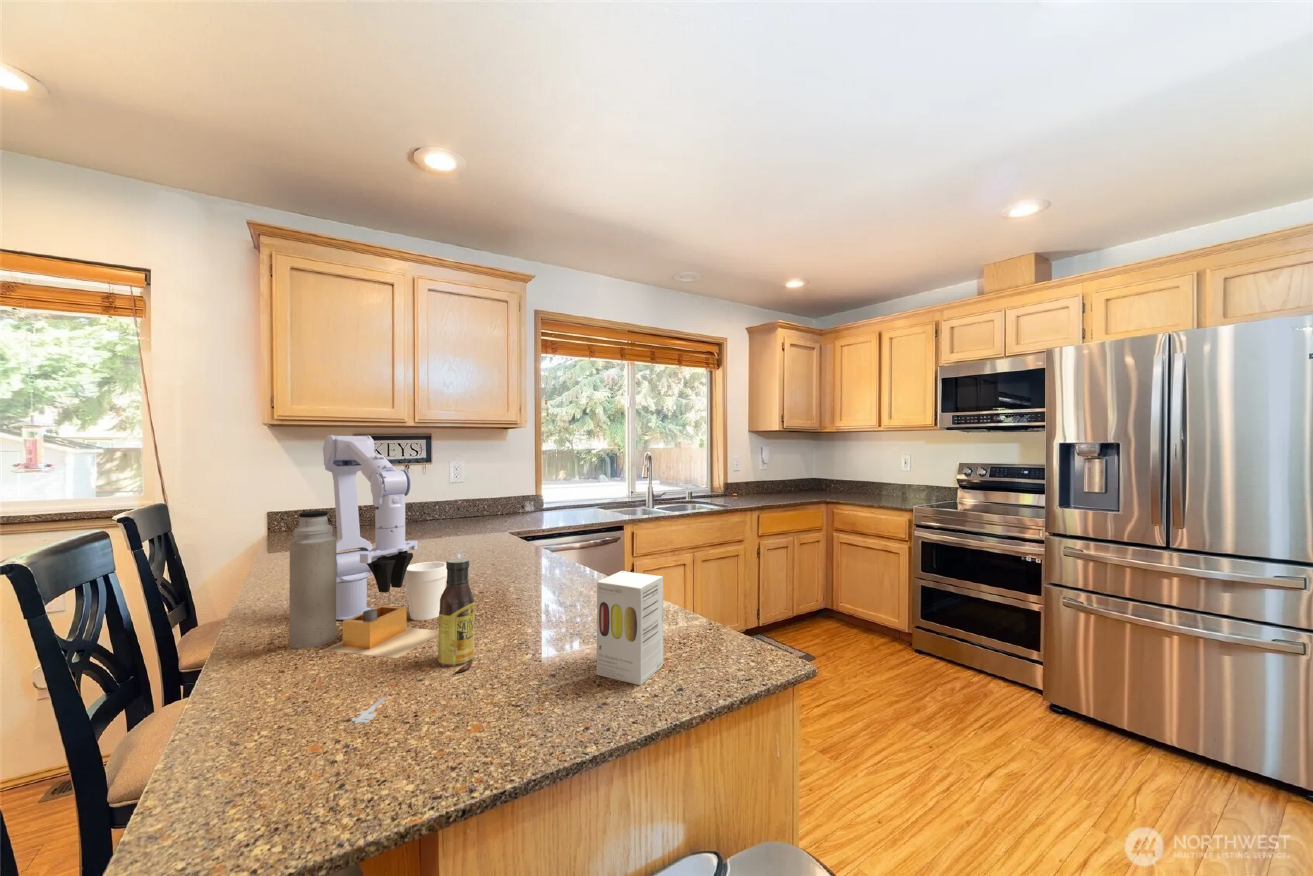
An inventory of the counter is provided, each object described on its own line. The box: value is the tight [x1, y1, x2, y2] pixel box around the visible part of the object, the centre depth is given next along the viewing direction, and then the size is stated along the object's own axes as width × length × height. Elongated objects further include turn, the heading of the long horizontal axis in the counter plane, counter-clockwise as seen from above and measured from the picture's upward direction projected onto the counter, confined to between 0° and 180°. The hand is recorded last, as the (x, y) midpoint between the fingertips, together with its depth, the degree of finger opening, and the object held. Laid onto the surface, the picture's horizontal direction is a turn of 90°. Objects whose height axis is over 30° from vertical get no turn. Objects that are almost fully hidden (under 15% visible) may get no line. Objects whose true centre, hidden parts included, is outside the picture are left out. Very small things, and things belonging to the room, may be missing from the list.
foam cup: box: [404, 561, 447, 621], centre depth 118 cm, size 10×9×13 cm
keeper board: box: [323, 609, 439, 659], centre depth 103 cm, size 17×14×8 cm
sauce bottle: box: [437, 557, 476, 673], centre depth 94 cm, size 6×6×20 cm
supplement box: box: [595, 570, 664, 686], centre depth 92 cm, size 10×9×17 cm
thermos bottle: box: [288, 510, 337, 649], centre depth 103 cm, size 8×8×28 cm
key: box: [351, 697, 387, 724], centre depth 81 cm, size 12×1×3 cm
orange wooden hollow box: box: [342, 605, 408, 649], centre depth 104 cm, size 10×6×5 cm, turn 167°
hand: (390, 589), depth 108 cm, fingers open, 3 cm apart
